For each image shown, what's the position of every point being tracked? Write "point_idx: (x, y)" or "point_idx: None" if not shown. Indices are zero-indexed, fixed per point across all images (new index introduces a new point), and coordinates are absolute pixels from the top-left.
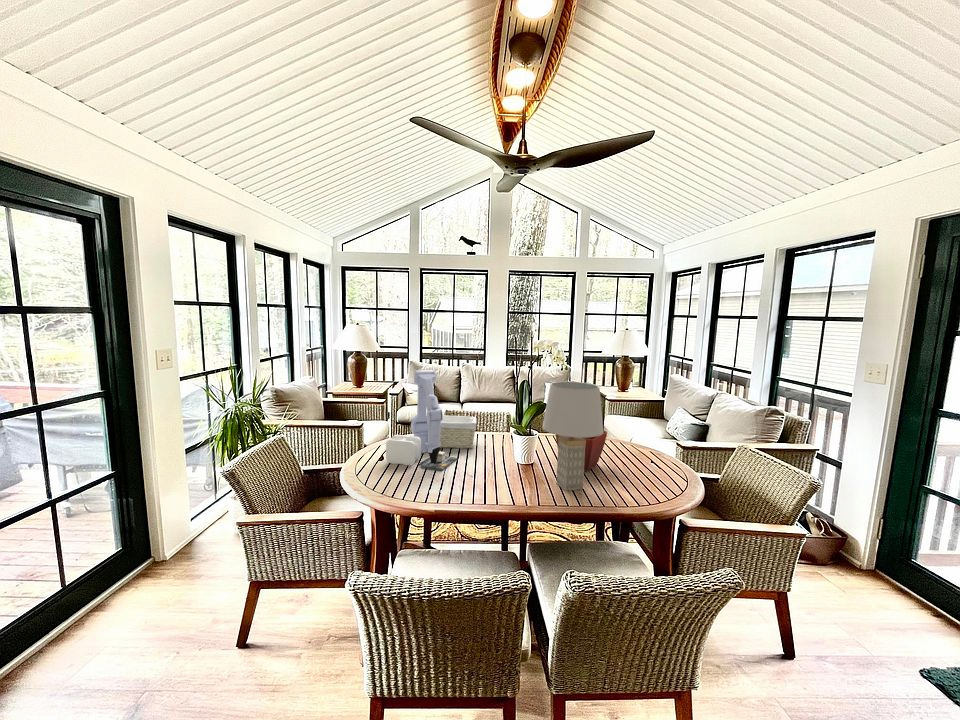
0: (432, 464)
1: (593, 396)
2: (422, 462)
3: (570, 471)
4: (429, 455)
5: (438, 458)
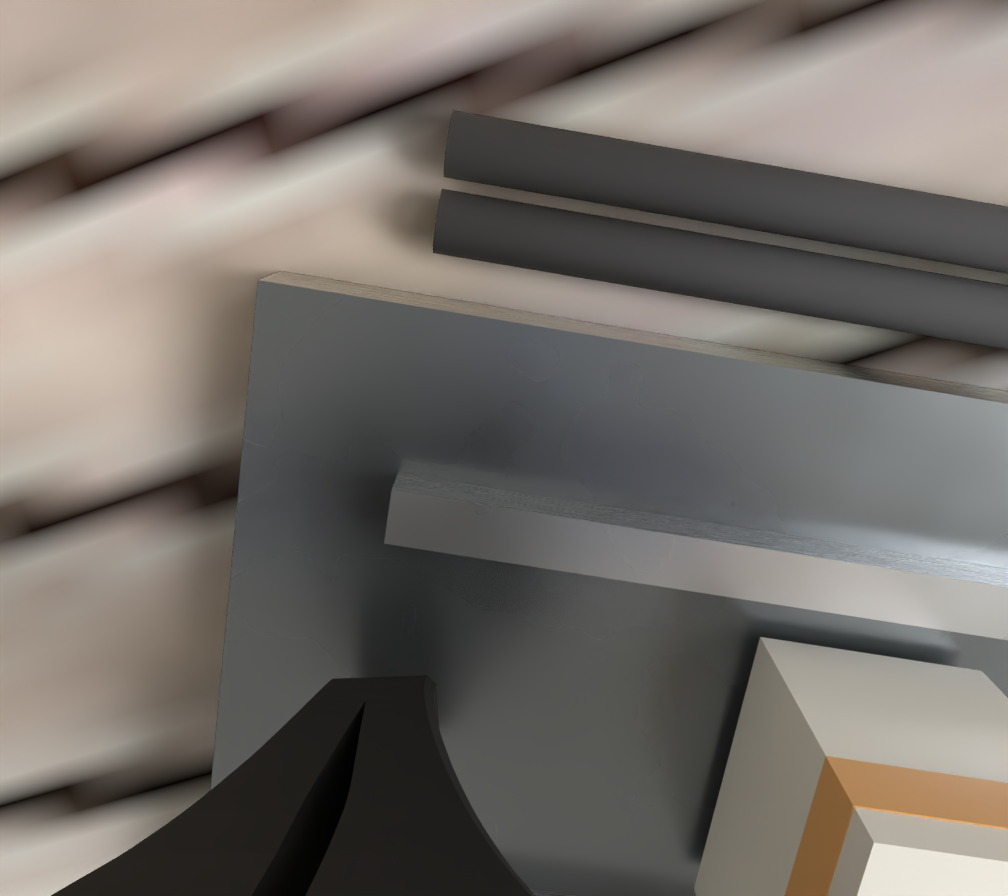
0: (450, 653)
1: None
2: (665, 204)
3: None
4: (120, 863)
5: (751, 854)
